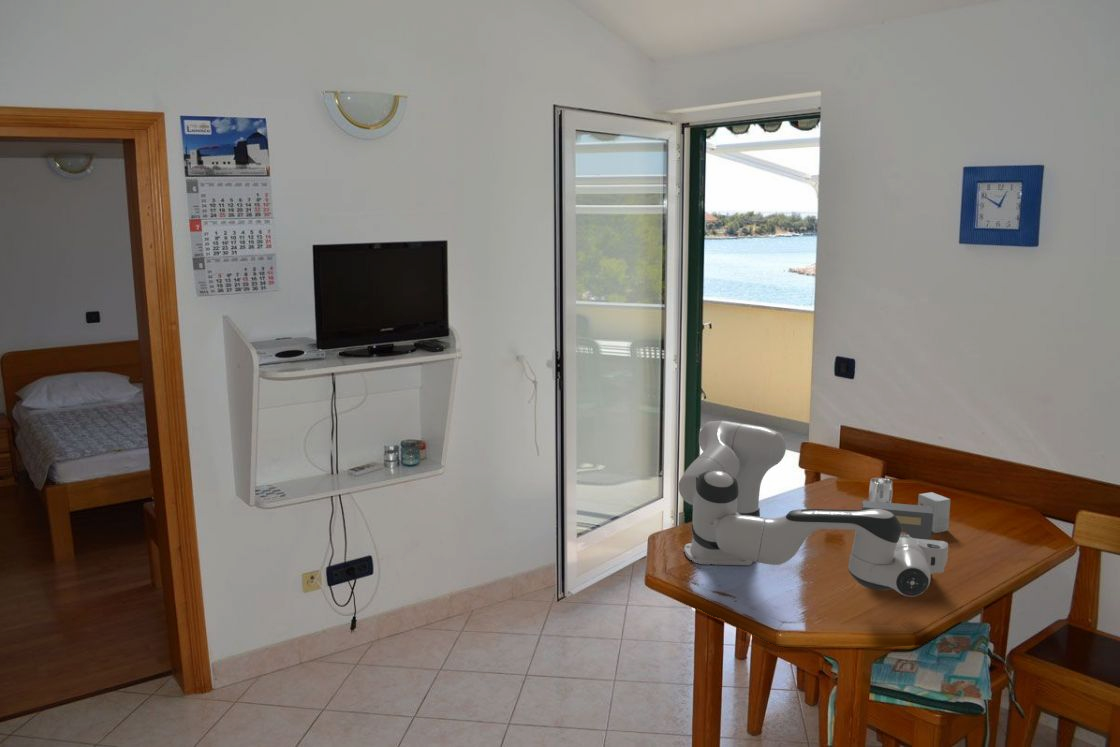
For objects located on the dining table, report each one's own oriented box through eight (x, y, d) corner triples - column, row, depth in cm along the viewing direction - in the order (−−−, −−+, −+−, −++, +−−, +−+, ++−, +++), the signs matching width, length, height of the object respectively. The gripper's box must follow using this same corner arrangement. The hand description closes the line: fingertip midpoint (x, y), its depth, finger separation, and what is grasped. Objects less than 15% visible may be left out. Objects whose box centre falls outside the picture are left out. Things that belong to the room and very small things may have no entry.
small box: (948, 531, 279) (951, 499, 277) (934, 533, 277) (937, 501, 275) (929, 522, 287) (932, 491, 285) (915, 525, 285) (918, 493, 283)
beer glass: (891, 530, 280) (894, 484, 277) (868, 529, 281) (871, 483, 278) (888, 523, 286) (891, 478, 284) (865, 521, 288) (868, 476, 285)
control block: (928, 576, 245) (933, 514, 242) (859, 568, 250) (863, 507, 247) (925, 567, 251) (930, 506, 248) (858, 560, 256) (862, 500, 253)
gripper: (861, 564, 222) (860, 544, 235) (950, 573, 216) (943, 552, 229) (863, 540, 221) (861, 521, 234) (952, 549, 215) (945, 529, 228)
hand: (902, 536), depth 232 cm, fingers closed
